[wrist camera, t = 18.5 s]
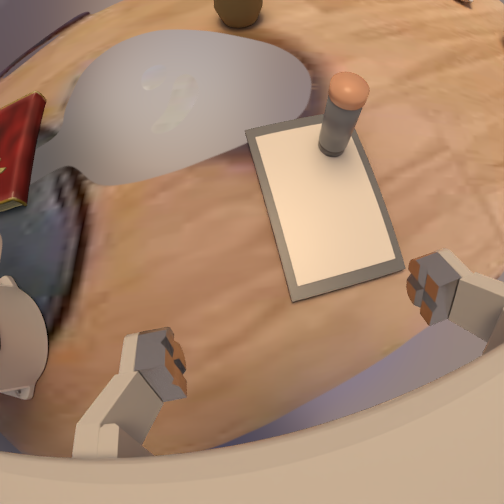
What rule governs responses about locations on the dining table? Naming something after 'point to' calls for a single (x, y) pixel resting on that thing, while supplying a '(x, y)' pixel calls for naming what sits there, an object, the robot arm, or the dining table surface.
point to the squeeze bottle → (238, 11)
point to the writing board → (322, 209)
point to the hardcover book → (18, 147)
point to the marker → (342, 112)
